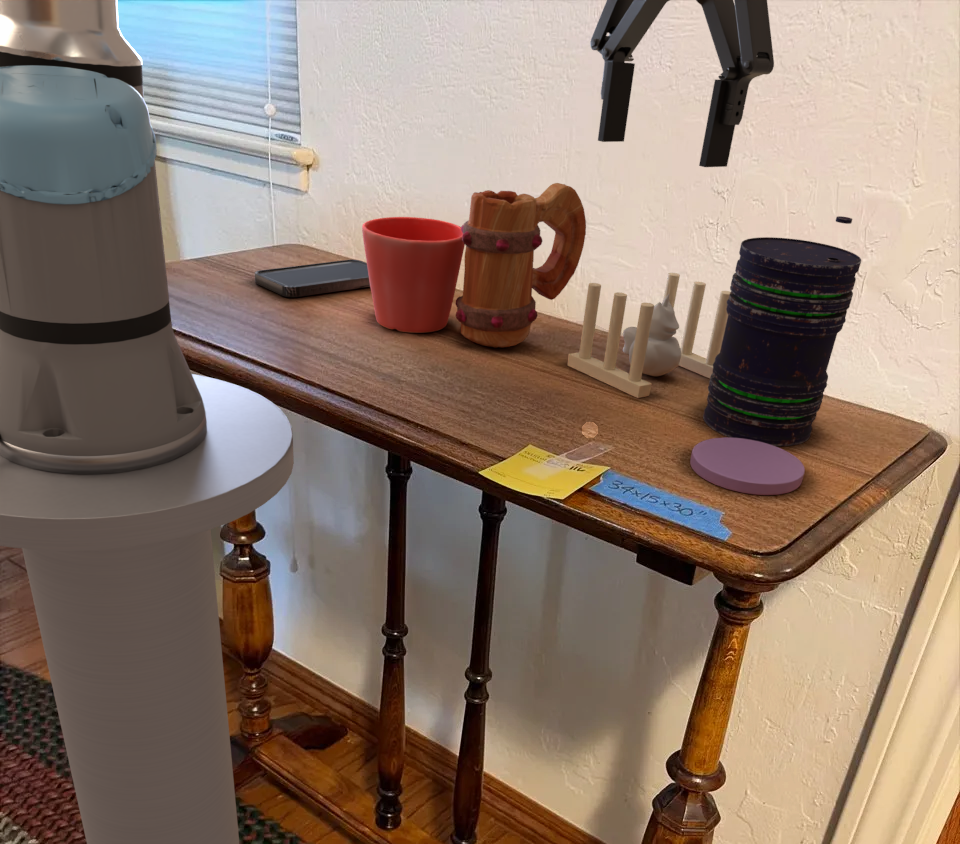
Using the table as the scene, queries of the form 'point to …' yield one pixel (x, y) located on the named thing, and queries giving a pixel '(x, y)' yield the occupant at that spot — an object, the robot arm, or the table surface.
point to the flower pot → (412, 271)
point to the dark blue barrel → (779, 338)
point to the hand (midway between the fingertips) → (659, 153)
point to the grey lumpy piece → (658, 341)
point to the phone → (315, 278)
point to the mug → (515, 260)
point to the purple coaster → (747, 466)
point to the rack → (645, 338)
